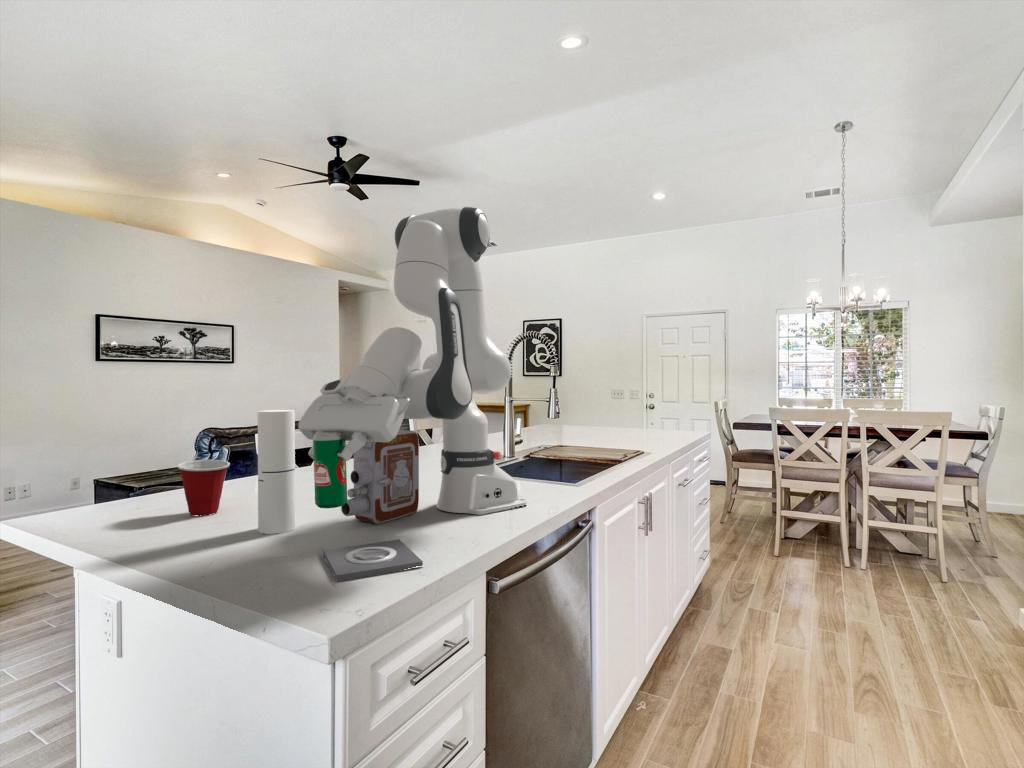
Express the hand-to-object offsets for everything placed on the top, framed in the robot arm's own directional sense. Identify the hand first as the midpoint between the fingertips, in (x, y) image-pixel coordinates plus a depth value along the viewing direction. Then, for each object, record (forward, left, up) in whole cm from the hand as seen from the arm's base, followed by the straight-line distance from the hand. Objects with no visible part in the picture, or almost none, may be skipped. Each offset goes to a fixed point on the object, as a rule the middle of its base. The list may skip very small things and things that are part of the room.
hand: (327, 457), depth 89 cm
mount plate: (-8, -2, -19) cm, 20 cm away
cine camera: (-16, -29, -19) cm, 38 cm away
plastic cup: (+19, -53, -19) cm, 60 cm away
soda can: (-1, 0, -8) cm, 8 cm away
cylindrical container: (+5, -31, -19) cm, 37 cm away
